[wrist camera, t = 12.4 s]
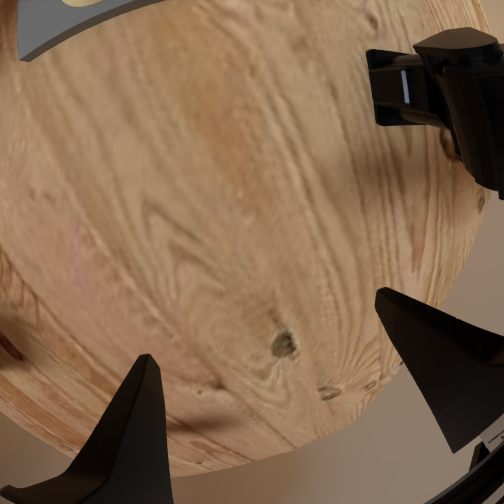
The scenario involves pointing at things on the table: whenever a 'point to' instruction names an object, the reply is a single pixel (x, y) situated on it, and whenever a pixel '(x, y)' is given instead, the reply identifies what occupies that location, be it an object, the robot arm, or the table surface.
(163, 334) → the table surface
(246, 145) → the table surface
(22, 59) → the board
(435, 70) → the robot arm
